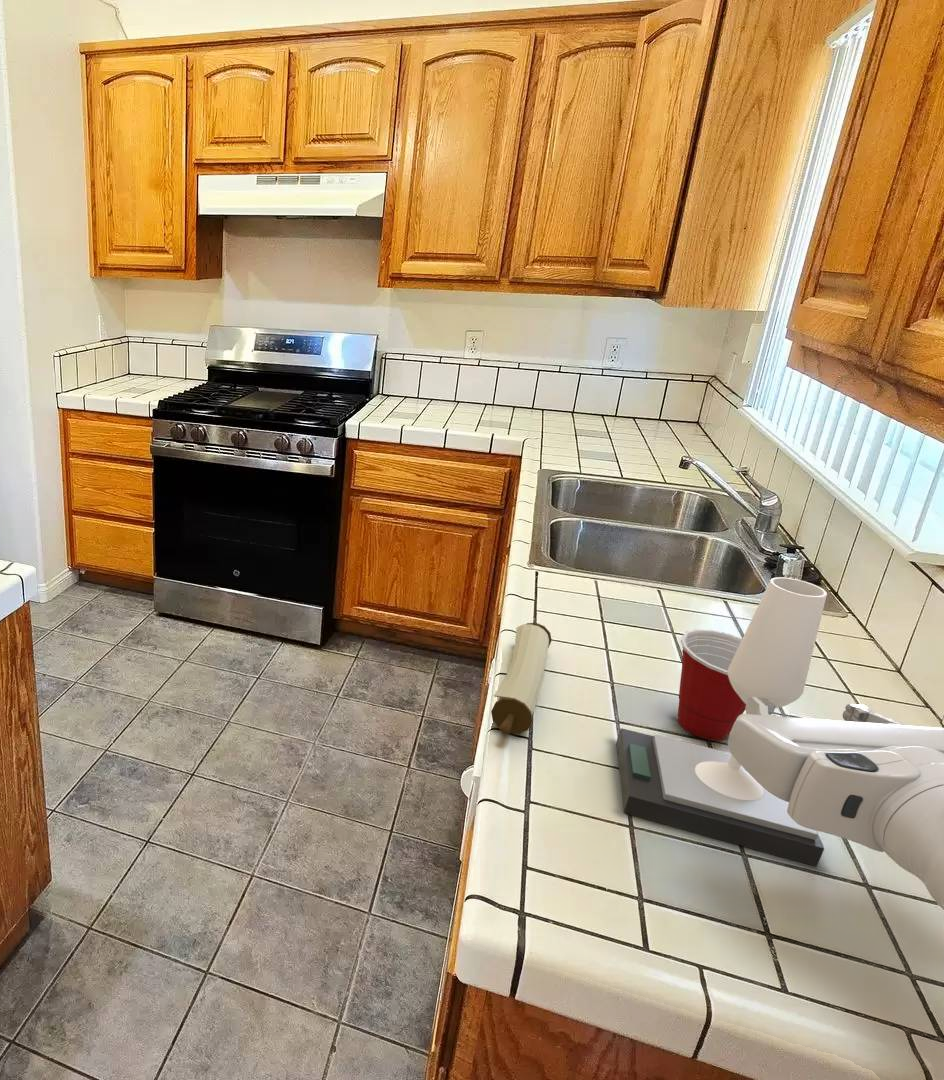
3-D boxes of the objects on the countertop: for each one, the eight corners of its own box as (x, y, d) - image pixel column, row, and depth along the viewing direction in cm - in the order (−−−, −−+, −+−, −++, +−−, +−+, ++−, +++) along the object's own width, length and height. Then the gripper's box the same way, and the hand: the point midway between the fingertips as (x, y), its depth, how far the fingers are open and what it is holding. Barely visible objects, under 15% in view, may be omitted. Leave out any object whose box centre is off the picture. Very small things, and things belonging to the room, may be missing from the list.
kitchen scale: (782, 785, 89) (791, 763, 88) (817, 867, 77) (827, 842, 76) (616, 743, 96) (622, 722, 95) (623, 813, 84) (630, 789, 82)
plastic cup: (702, 759, 94) (730, 675, 89) (639, 709, 103) (661, 632, 99) (772, 749, 96) (803, 668, 92) (704, 702, 106) (729, 626, 101)
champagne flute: (685, 757, 88) (746, 570, 80) (748, 766, 87) (817, 577, 79) (708, 794, 82) (777, 596, 74) (776, 805, 81) (854, 605, 72)
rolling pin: (524, 755, 92) (532, 721, 91) (477, 740, 95) (484, 707, 93) (553, 646, 119) (559, 618, 117) (516, 636, 122) (522, 609, 120)
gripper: (1063, 780, 60) (923, 686, 73) (801, 761, 61) (708, 671, 74) (1029, 842, 62) (898, 741, 75) (776, 823, 63) (690, 726, 76)
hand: (802, 706), depth 74 cm, fingers open, 8 cm apart
